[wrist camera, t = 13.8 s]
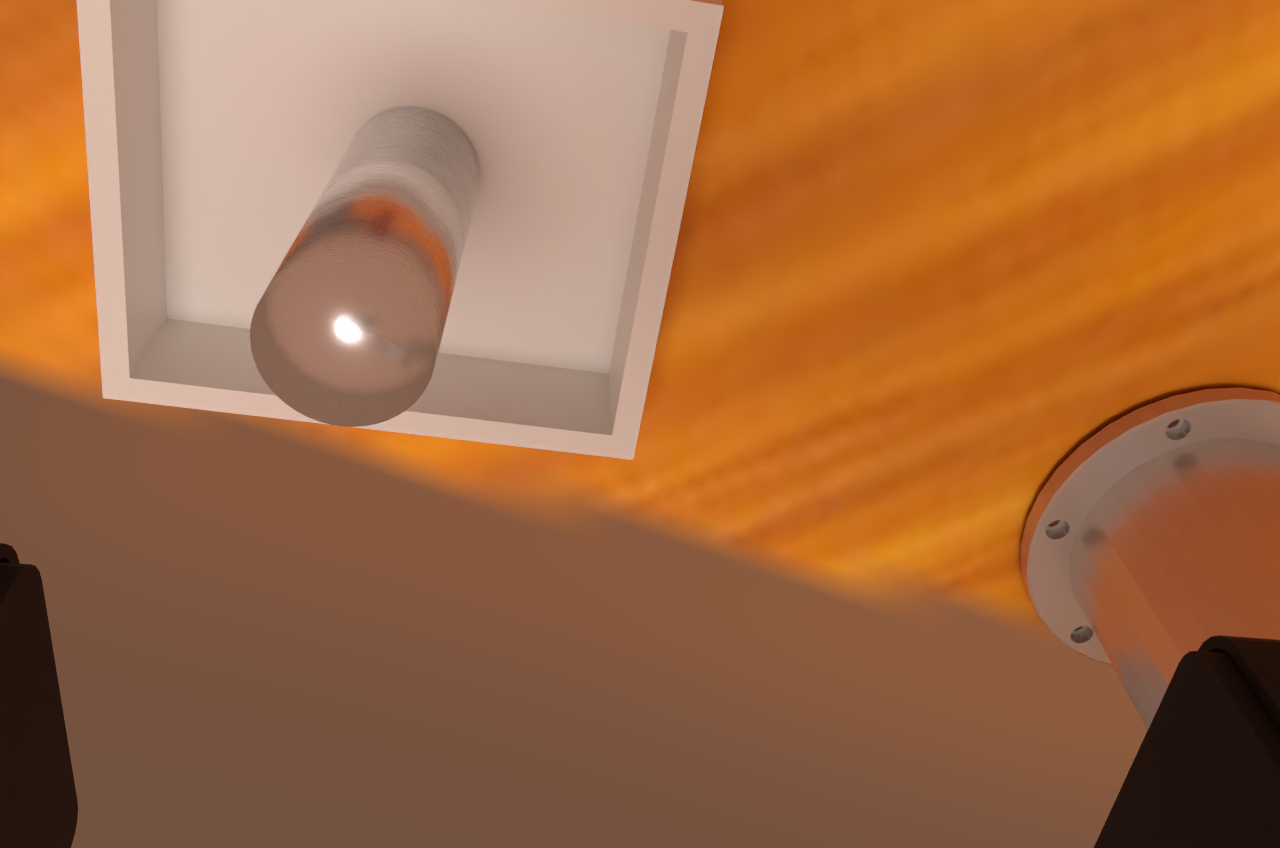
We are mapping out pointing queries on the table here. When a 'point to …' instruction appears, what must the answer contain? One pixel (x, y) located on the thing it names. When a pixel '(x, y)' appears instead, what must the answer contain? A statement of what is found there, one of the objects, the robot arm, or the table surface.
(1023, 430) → the table surface
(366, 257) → the pin
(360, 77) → the tray
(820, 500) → the table surface
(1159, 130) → the table surface
